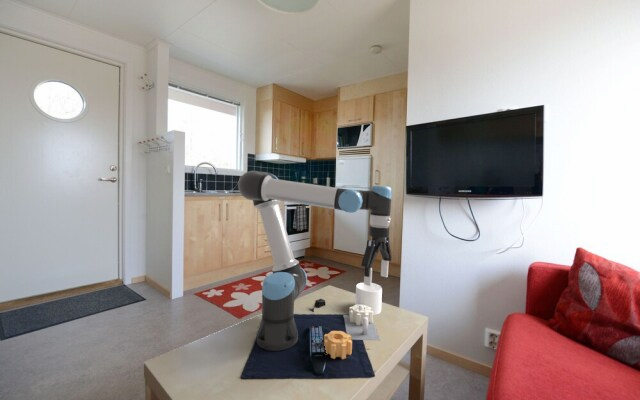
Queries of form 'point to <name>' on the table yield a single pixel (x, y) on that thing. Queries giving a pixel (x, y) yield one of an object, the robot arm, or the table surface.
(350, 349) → the gear
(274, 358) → the table surface
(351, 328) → the gear board
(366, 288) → the cup
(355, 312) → the gear
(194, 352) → the table surface
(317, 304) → the black boxy piece
